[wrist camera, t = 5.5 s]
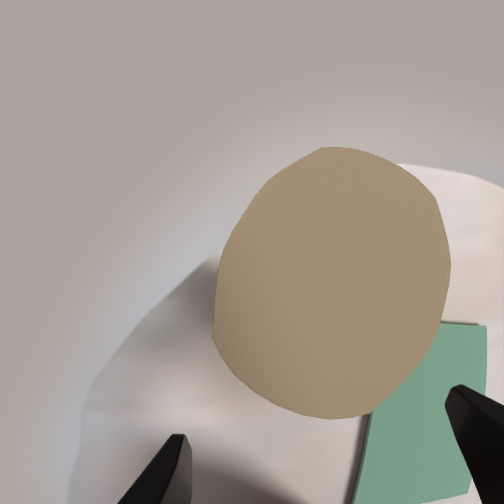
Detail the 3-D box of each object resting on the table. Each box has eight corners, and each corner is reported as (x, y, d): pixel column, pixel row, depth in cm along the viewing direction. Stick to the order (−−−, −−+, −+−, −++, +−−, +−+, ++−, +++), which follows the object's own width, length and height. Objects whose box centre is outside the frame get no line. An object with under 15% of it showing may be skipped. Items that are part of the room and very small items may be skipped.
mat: (463, 491, 13) (467, 492, 13) (349, 507, 14) (351, 510, 14) (482, 327, 19) (486, 325, 19) (378, 320, 20) (381, 317, 20)
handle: (235, 378, 19) (162, 342, 5) (280, 296, 21) (301, 126, 8) (301, 410, 18) (391, 450, 4) (342, 326, 20) (461, 197, 7)
